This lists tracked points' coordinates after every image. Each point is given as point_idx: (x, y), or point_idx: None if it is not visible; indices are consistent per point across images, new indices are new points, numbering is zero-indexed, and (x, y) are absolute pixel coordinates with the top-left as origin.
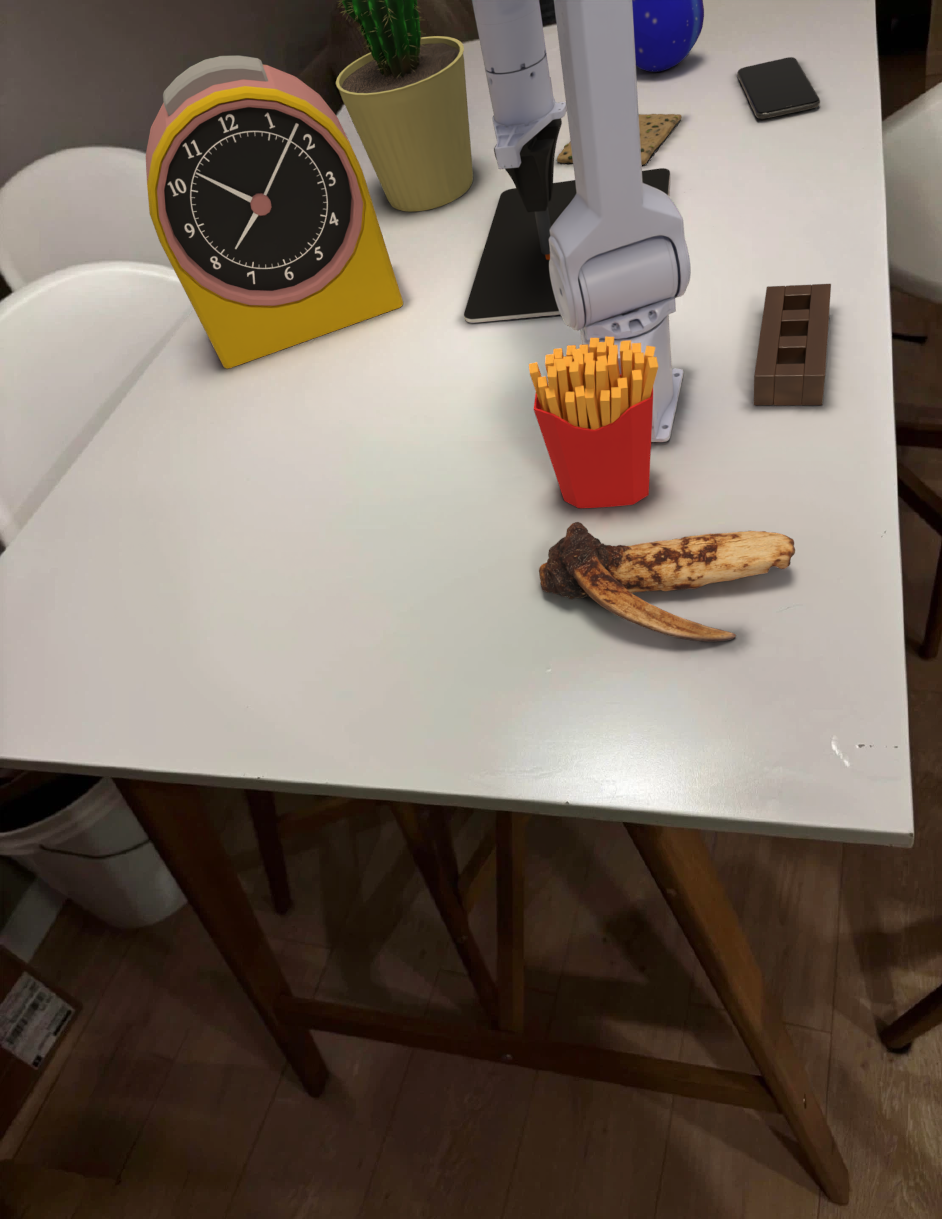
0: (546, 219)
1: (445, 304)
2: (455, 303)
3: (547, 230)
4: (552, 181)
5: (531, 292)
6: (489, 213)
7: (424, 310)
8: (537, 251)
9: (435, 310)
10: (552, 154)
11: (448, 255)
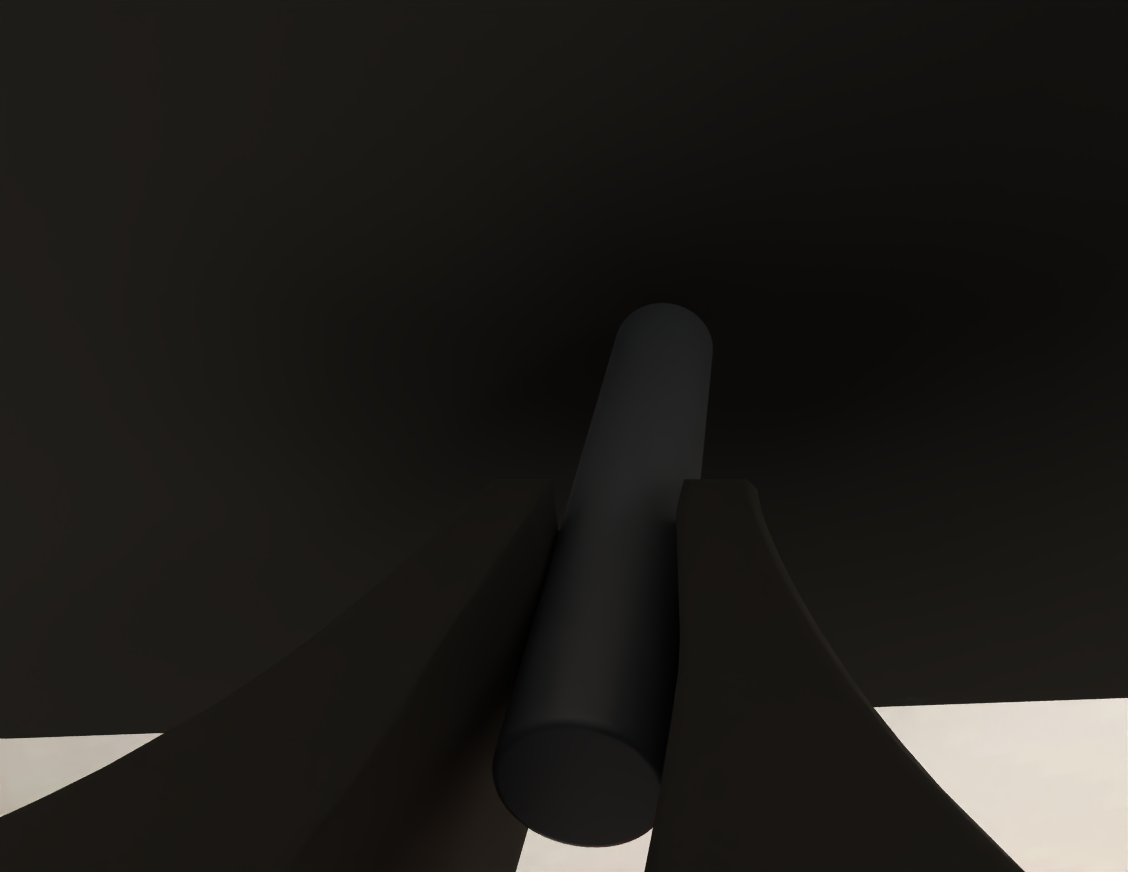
0: (675, 442)
1: (1030, 785)
2: (1031, 742)
3: (691, 399)
4: (461, 546)
5: (1085, 343)
6: (142, 743)
7: (1069, 864)
8: (562, 422)
9: (1083, 819)
10: (378, 753)
11: (540, 847)
